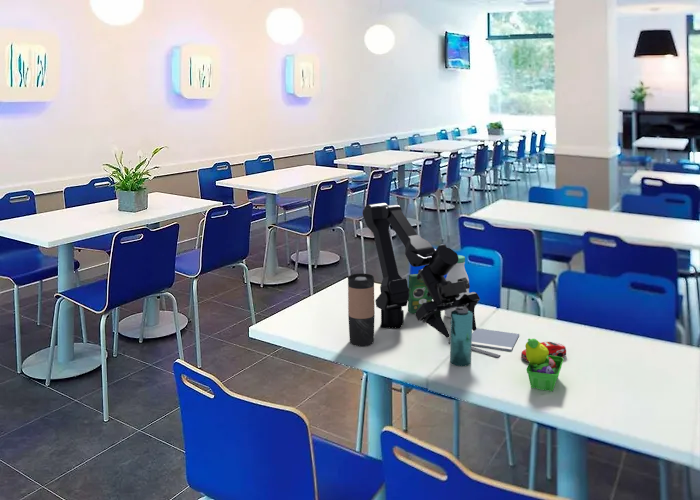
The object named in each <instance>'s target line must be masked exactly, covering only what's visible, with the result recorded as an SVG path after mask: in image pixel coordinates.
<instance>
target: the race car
mask: <svg viewBox="0 0 700 500" xmlns="http://www.w3.org/2000/svg"><path fill="white" fill-rule="evenodd" d="M540 343H541V344H542V345H544V346H545V347H546V348H547V349H548V351H549V354H548V355H551V356H558V357H562V358H564V357H566V356H567V348H566V346H565V345H564V344H562V343H560V342H553V341H541V342H540ZM520 356H521V357H520V359H522V360H523V361H525V362H528V363H529V361H528V359H527V357H526V348H525V349H523V350H521V355H520Z"/></svg>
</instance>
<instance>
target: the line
mask: <svg viewBox="0 0 700 500" xmlns="http://www.w3.org/2000/svg"><path fill="white" fill-rule="evenodd" d="M448 344H450V341H449V342H448ZM472 351H473V352H475V353H476V352H477V353H479V354H483V355H486V356H489V357H493V358H495V359H496V358H497V359H498V358H500V357H501V354H498V353H494V352H491V351H487V350H484V349H481V348H477V347H475V346H472V347H471V352H472Z"/></svg>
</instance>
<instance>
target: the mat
mask: <svg viewBox="0 0 700 500" xmlns="http://www.w3.org/2000/svg"><path fill="white" fill-rule="evenodd" d="M519 336H520V333H513V332H509V331H508V332H507V331H500V330H494V329H487V328H486V329H485V328H478V327H476V330H475V331H472V347H480V348H481V347H482V348H487V349H493V350H494V349H495V350H501V351H507V352H512V350H513V349H514V346H515V345H516V343H517V341H518V338H519Z"/></svg>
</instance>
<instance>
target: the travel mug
mask: <svg viewBox="0 0 700 500" xmlns="http://www.w3.org/2000/svg"><path fill="white" fill-rule="evenodd" d="M347 289H348V290H347V302H348V303H347V304H348V305H347V309H348V314H347V316H348V333H349V334H348V335H349V337H348V338H349V343H350V344H351V345H352V346H354V347H359V348H361V347H369V346H371V345H373V344H374V342H375V317H376V315H375V276H374V275H372V274H370V273H352V274H350V275H348V276H347Z"/></svg>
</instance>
